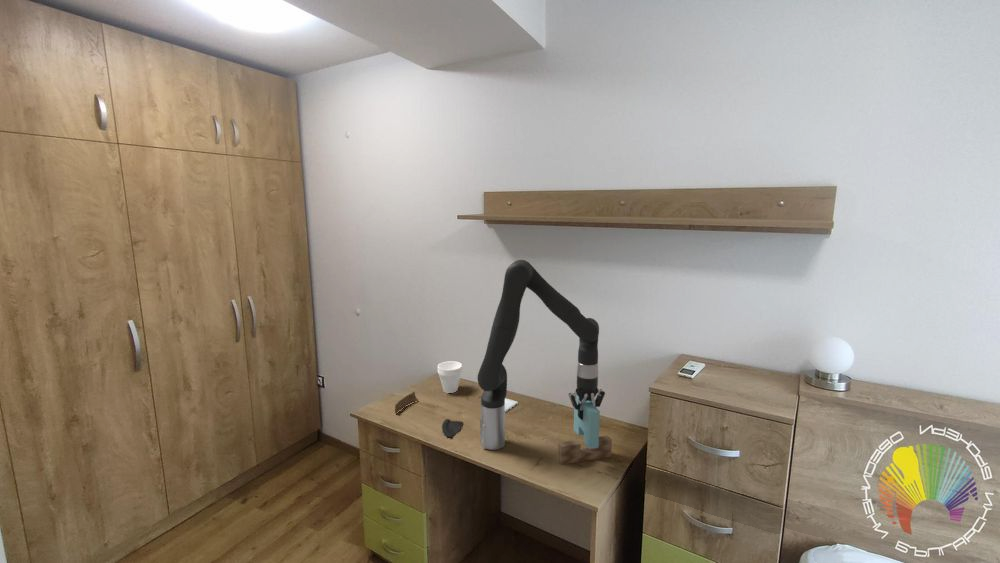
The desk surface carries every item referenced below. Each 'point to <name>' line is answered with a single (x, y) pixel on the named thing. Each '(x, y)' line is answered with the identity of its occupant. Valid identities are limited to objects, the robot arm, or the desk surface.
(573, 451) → the walnut slotted board
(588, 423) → the teal notched plate
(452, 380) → the cup
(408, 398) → the brown curved strip
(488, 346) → the robot arm
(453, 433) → the curved wedge
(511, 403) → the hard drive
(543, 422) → the desk surface
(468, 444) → the desk surface
